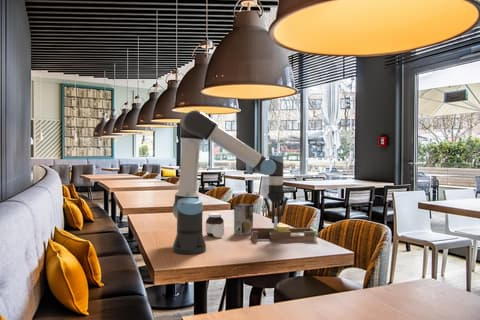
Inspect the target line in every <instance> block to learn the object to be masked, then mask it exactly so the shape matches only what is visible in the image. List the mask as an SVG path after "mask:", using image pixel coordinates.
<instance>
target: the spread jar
mask: <svg viewBox="0 0 480 320" xmlns="http://www.w3.org/2000/svg"><path fill="white" fill-rule="evenodd" d="M205 233H206V235H208V237H214V238H218V239H221V238H222V237H223V236H224V235H225V221H224V218H223V217H222V213H220V212H209V213H208V218H206V220H205Z"/></svg>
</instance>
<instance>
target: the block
mask: <svg viewBox="0 0 480 320" xmlns="http://www.w3.org/2000/svg"><path fill="white" fill-rule="evenodd" d="M289 228H290V226H289V225H286V224H277V230H276V231H289Z"/></svg>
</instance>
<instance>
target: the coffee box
mask: <svg viewBox="0 0 480 320" xmlns="http://www.w3.org/2000/svg"><path fill="white" fill-rule="evenodd" d="M233 209H234V210H233V233H234V235H238V236H244V235H245V236H246V235H251V228H254V205H253V204H250V203H240V204H234V207H233Z"/></svg>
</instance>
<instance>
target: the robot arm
mask: <svg viewBox="0 0 480 320" xmlns="http://www.w3.org/2000/svg"><path fill="white" fill-rule="evenodd" d="M179 130H180V134H179V140H180V141H181V142H182V145H181V155H180V156H181V157H180V169H179V170H180V171H179V180H178V181H179V182H178V191H177V192H176V193H174V201H173V205H172V213H173V216H174V217H175V219H176V235H175V238H174V241H173V244H172V252H174V254H175V253H176V254H181V255H193V254H194V255H195V254H196V255H197V254H202V253H205V252H206V250H207V244H206V242H205V241H206V240H205V238H204V235H203V215H204V213H203V212H204V211H203V210H204V206H203V202H202V200H201V199H200V196H199V194H198V193H197V184H198V172H199V162H200V160H199V159H200V151H201V150H200V149H201V144H202V142H204V140H205V141H209V142H210V141H211V142H212V143H213V144H215V145H216V146H218V147H220V148H221V149H223V150H224V151H226V152H227V153H229V154H231V155H232V156H234V157H235V158H237V159H239V160H240V161H242V162H243V163H244V164H245V170H246V172H247V173H249V174H260V175H265V176H268V184H269V185H268V194H267V196H264V197H263V201H264V202H265V206H266V211H267V214H268V216H269V217H271V224H273V228H274V230H277V225H278V224H280V217H283V216H284V213H285V208H286V205H287V201H288V200H289V198H288V197H287V196H285V194H284V185H283V184H284V164H285V163H284V155H282V154H269V155H268V157H266V156H264V155H263V154H261V153H259V152H258V151H256V149H254V148H252V147H251V146H249V145H248V144H246V143H244V142H243V141H242V140H240V139H239V138H237V137H235V136H234V135H233V134H231V133H229V132H228V131H227V130H225V129H223V128H221V127H220V126H219V124H218V122H216V121H215V120H214V119H212V118H211V117H210V116H208V115H207V114H206V113H204V112H203V111H200V110H191V111H189V112H186V113H185V114H184V115H182V117H181V118H180V121H179ZM269 200H270V202H271V208H270V204H269ZM281 201H282V203H281ZM280 203H281V204H282V205H281V204H280ZM280 205H281V207H280ZM275 206H276V209H275ZM270 209H271V210H270ZM275 210H276V212H275ZM275 214H276V216H275Z"/></svg>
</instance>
